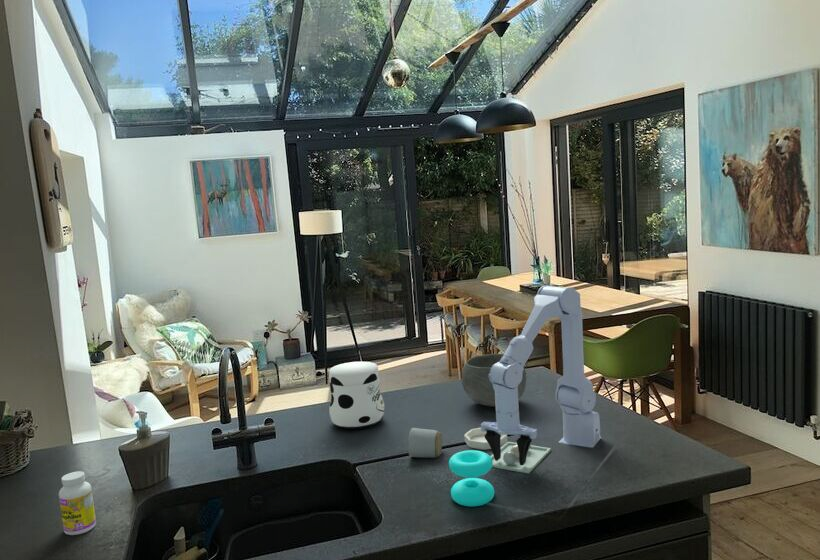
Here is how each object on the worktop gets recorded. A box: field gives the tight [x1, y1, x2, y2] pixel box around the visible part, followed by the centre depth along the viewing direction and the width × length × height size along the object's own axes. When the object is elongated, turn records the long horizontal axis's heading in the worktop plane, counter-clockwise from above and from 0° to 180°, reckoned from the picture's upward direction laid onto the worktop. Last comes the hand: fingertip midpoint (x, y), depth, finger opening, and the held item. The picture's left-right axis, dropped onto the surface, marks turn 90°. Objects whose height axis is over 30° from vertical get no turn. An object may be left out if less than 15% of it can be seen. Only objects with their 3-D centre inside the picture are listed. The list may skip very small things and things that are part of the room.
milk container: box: [328, 361, 385, 430], centre depth 202 cm, size 17×17×18 cm
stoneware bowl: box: [463, 427, 509, 450], centre depth 179 cm, size 11×11×2 cm
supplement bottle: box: [58, 470, 97, 536], centre depth 146 cm, size 7×7×13 cm
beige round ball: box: [511, 445, 519, 458], centre depth 166 cm, size 3×3×3 cm
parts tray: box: [489, 441, 552, 475], centre depth 166 cm, size 12×15×1 cm
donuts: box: [448, 449, 495, 507], centre depth 147 cm, size 10×10×10 cm
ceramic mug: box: [407, 427, 443, 459], centre depth 174 cm, size 11×8×8 cm
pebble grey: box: [503, 451, 517, 465], centre depth 162 cm, size 3×3×3 cm
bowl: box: [461, 353, 527, 408], centre depth 210 cm, size 21×21×15 cm
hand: (510, 461), depth 162 cm, fingers open, 6 cm apart
